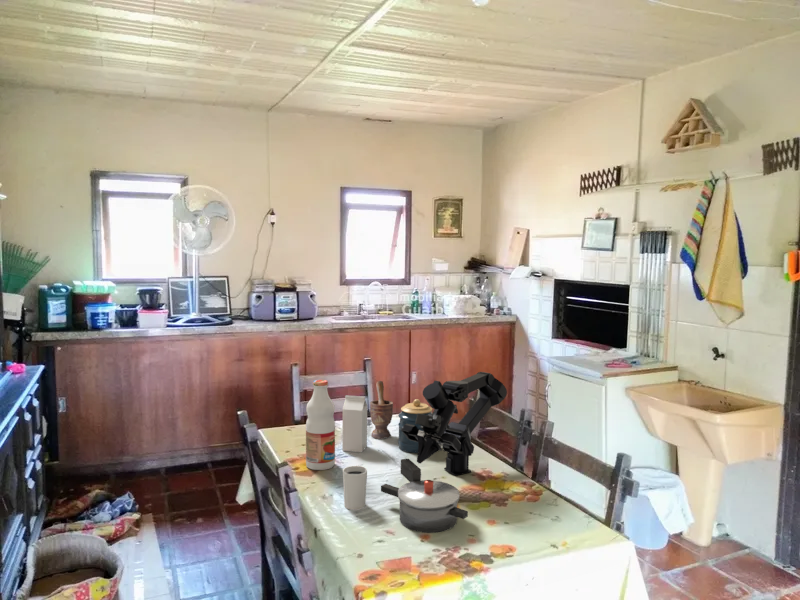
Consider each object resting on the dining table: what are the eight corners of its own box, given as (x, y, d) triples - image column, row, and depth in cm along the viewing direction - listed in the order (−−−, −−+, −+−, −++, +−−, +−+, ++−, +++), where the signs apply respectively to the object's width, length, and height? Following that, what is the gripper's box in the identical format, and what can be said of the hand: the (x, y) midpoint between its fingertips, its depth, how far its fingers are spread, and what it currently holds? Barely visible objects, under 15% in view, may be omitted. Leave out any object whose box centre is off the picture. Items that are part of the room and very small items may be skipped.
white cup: (356, 498, 169) (356, 464, 168) (371, 505, 164) (372, 470, 163) (337, 505, 164) (337, 469, 163) (353, 512, 159) (353, 476, 159)
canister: (440, 446, 215) (441, 398, 214) (422, 456, 204) (423, 405, 203) (410, 439, 222) (410, 393, 221) (391, 449, 211) (391, 400, 210)
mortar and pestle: (362, 432, 230) (363, 381, 229) (382, 429, 234) (383, 379, 233) (375, 440, 220) (376, 387, 219) (396, 437, 224) (397, 385, 223)
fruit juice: (309, 460, 199) (309, 377, 197) (337, 461, 199) (337, 378, 196) (302, 470, 190) (302, 383, 188) (332, 471, 189) (332, 384, 187)
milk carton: (361, 452, 207) (362, 399, 206) (342, 451, 208) (342, 397, 207) (367, 446, 214) (367, 394, 212) (348, 444, 215) (348, 393, 214)
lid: (429, 470, 174) (430, 455, 174) (470, 504, 151) (470, 487, 151) (378, 477, 168) (378, 462, 168) (411, 513, 145) (412, 496, 145)
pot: (399, 494, 172) (400, 474, 171) (480, 522, 155) (481, 499, 154) (365, 512, 160) (365, 490, 159) (448, 543, 143) (448, 519, 143)
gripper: (405, 397, 182) (381, 441, 174) (456, 408, 171) (433, 455, 163) (420, 417, 189) (398, 460, 181) (470, 428, 177) (449, 475, 170)
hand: (418, 462), depth 174 cm, fingers closed
